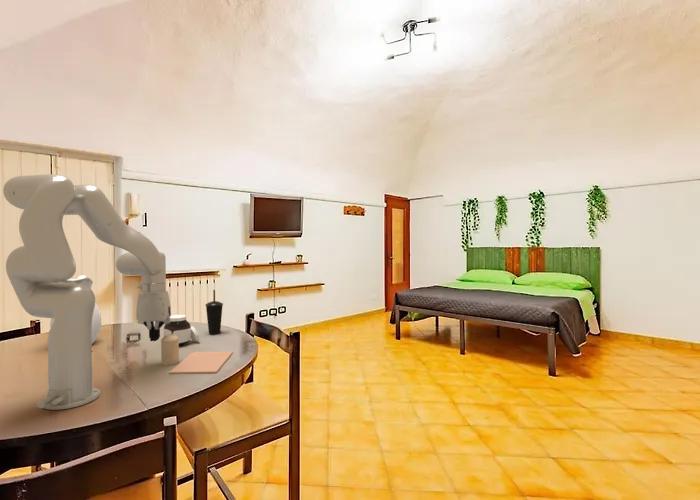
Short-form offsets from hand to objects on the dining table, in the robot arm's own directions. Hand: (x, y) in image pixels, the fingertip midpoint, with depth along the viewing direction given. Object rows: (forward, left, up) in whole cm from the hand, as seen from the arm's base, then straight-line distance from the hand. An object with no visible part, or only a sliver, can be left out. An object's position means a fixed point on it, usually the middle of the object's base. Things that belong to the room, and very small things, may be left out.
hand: (154, 340), depth 134 cm
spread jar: (+25, 0, -8) cm, 26 cm away
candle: (0, -5, -8) cm, 10 cm away
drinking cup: (+41, -9, -8) cm, 43 cm away
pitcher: (+28, +43, -8) cm, 52 cm away
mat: (0, -17, -8) cm, 19 cm away
